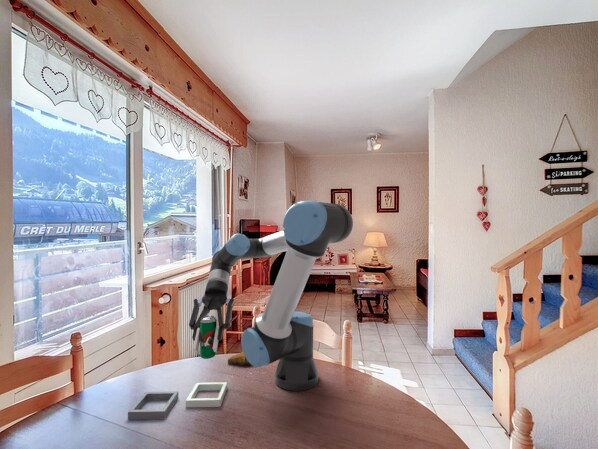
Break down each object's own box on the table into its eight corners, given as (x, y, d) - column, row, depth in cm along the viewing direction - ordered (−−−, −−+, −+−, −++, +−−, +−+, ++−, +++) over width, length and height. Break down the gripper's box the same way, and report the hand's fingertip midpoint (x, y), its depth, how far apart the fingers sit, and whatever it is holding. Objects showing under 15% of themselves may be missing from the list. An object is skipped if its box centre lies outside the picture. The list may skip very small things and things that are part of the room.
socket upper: (178, 397, 90) (178, 391, 90) (164, 418, 80) (164, 411, 80) (145, 398, 90) (145, 391, 90) (127, 419, 80) (127, 412, 80)
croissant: (262, 359, 118) (262, 347, 118) (261, 367, 111) (261, 354, 112) (229, 360, 118) (229, 347, 118) (225, 367, 111) (225, 354, 111)
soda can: (219, 353, 92) (219, 315, 93) (210, 360, 88) (210, 320, 88) (206, 351, 94) (206, 314, 94) (196, 358, 89) (196, 318, 89)
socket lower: (227, 388, 96) (227, 382, 96) (220, 406, 86) (220, 399, 86) (196, 388, 95) (196, 382, 96) (185, 407, 85) (185, 400, 86)
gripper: (244, 290, 107) (236, 354, 90) (194, 291, 106) (177, 356, 89) (241, 278, 102) (233, 344, 85) (189, 279, 101) (170, 345, 84)
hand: (204, 350), depth 87 cm, fingers closed on soda can, 5 cm apart
